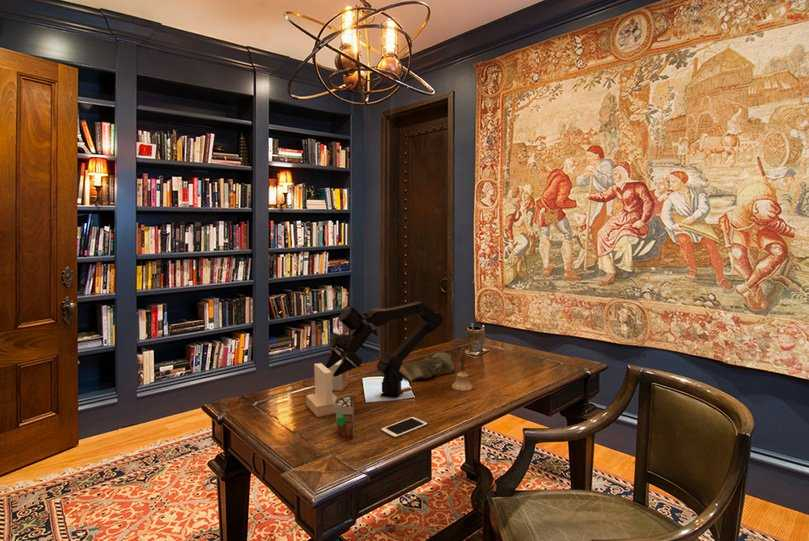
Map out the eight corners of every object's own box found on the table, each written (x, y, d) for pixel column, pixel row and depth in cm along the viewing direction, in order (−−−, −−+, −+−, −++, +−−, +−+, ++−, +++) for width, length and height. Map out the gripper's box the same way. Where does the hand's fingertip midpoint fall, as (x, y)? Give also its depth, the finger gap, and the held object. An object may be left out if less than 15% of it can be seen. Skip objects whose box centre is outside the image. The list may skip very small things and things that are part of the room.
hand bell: (477, 387, 183) (477, 347, 181) (464, 392, 177) (464, 352, 175) (460, 382, 188) (460, 344, 187) (447, 387, 182) (447, 348, 181)
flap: (330, 392, 170) (329, 361, 169) (341, 403, 159) (341, 370, 158) (306, 396, 165) (305, 365, 164) (316, 408, 155) (315, 374, 154)
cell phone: (378, 431, 145) (378, 428, 145) (413, 418, 154) (413, 415, 154) (394, 440, 139) (394, 437, 139) (429, 426, 149) (429, 423, 149)
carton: (331, 399, 170) (331, 392, 170) (343, 411, 160) (343, 403, 159) (306, 404, 166) (306, 397, 166) (317, 417, 155) (316, 409, 155)
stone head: (385, 365, 202) (434, 350, 218) (389, 384, 201) (437, 368, 218) (411, 367, 186) (461, 350, 202) (415, 387, 186) (465, 369, 202)
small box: (342, 391, 179) (341, 364, 178) (328, 390, 180) (328, 364, 179) (349, 384, 187) (348, 358, 186) (335, 383, 188) (335, 358, 187)
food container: (335, 423, 151) (334, 393, 150) (354, 422, 151) (353, 392, 150) (332, 440, 138) (331, 408, 137) (353, 439, 139) (352, 407, 138)
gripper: (334, 319, 172) (305, 352, 167) (353, 329, 155) (322, 366, 151) (354, 337, 176) (327, 370, 172) (374, 349, 160) (345, 385, 156)
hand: (329, 372), depth 162 cm, fingers open, 9 cm apart
